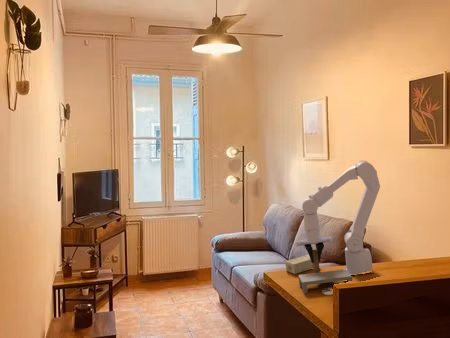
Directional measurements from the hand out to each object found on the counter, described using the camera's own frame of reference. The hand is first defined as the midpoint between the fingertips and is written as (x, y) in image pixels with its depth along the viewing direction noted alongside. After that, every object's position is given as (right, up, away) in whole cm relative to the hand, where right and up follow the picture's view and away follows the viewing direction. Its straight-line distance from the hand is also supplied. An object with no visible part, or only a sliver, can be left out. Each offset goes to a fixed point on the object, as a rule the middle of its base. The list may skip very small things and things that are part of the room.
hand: (315, 261), depth 173 cm
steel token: (+1, -7, -19) cm, 21 cm away
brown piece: (+1, -5, -4) cm, 7 cm away
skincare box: (-10, -4, +6) cm, 12 cm away
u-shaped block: (+1, -6, -14) cm, 15 cm away
